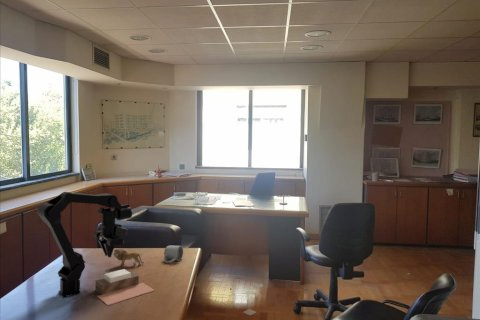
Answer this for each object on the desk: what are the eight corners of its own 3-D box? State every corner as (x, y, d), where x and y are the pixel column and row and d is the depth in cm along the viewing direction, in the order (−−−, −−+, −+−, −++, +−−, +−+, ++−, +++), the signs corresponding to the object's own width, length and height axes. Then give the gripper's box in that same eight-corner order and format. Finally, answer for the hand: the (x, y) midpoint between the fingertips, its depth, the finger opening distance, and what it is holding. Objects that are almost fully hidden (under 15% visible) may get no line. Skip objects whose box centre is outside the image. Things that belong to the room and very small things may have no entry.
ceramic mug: (169, 256, 189) (170, 242, 188) (183, 258, 186) (183, 244, 186) (160, 262, 179) (160, 248, 178) (174, 264, 176) (174, 250, 176)
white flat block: (110, 283, 142) (110, 278, 142) (104, 278, 146) (104, 274, 146) (130, 277, 148) (130, 272, 148) (124, 273, 152) (124, 269, 152)
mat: (107, 305, 131) (107, 304, 131) (97, 296, 138) (97, 296, 138) (154, 290, 145) (154, 290, 145) (142, 283, 152) (142, 282, 152)
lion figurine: (113, 268, 169) (113, 250, 168) (113, 264, 174) (113, 247, 173) (144, 265, 173) (144, 248, 173) (143, 262, 178) (144, 245, 178)
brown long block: (102, 295, 139) (102, 285, 139) (95, 289, 144) (95, 280, 144) (138, 284, 150) (138, 275, 150) (131, 279, 155) (131, 271, 155)
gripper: (135, 223, 152) (134, 257, 153) (116, 216, 165) (116, 247, 166) (110, 227, 144) (110, 263, 145) (93, 219, 157) (93, 252, 158)
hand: (108, 256), depth 154 cm, fingers open, 3 cm apart
